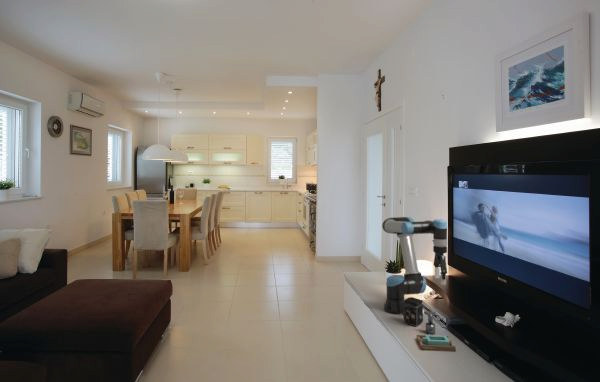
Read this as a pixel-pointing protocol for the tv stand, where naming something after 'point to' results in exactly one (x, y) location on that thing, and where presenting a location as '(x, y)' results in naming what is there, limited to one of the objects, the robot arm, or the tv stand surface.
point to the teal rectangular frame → (436, 340)
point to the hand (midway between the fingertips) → (440, 281)
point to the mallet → (430, 323)
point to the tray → (435, 348)
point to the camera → (413, 311)
